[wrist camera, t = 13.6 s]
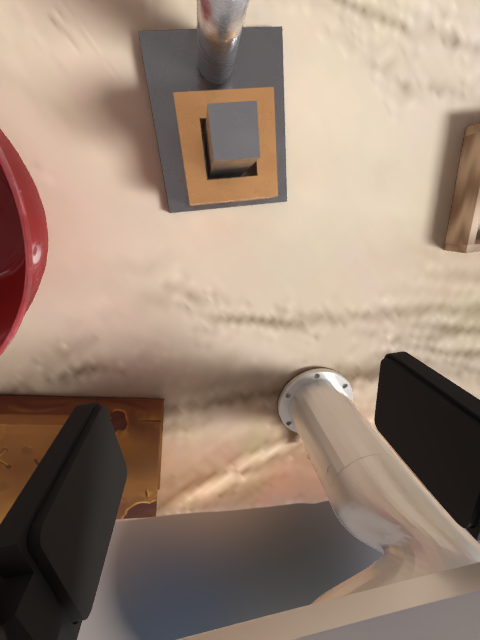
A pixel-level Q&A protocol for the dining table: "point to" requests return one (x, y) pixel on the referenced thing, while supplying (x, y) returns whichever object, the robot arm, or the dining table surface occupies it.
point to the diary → (46, 422)
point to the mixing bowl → (18, 241)
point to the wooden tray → (466, 197)
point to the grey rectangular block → (231, 138)
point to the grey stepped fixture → (216, 87)
